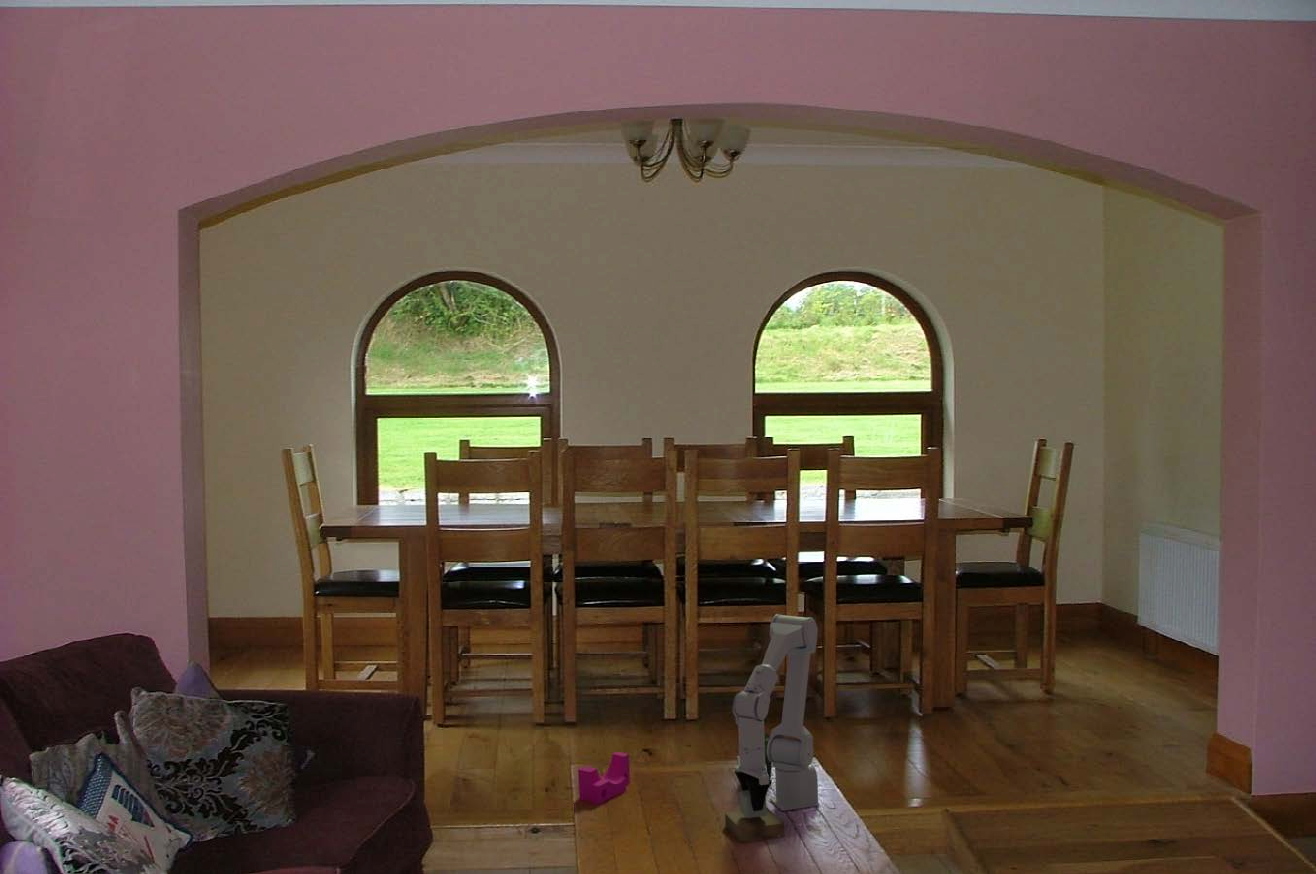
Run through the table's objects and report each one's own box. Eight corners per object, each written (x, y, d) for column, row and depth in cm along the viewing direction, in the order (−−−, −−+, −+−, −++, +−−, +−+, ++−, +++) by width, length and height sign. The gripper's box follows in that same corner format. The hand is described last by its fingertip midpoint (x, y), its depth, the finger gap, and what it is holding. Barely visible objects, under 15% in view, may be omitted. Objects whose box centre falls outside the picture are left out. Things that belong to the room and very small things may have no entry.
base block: (767, 819, 274) (766, 807, 274) (784, 836, 265) (783, 822, 265) (725, 826, 271) (725, 813, 271) (741, 843, 262) (740, 829, 262)
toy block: (599, 804, 288) (598, 774, 287) (579, 799, 292) (578, 769, 291) (637, 785, 300) (636, 755, 299) (618, 780, 303) (617, 751, 303)
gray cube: (759, 808, 271) (758, 788, 270) (766, 815, 266) (765, 795, 266) (740, 811, 269) (739, 791, 269) (747, 818, 265) (746, 798, 265)
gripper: (723, 738, 273) (725, 797, 274) (746, 758, 259) (748, 820, 260) (752, 734, 275) (754, 793, 276) (777, 754, 261) (779, 815, 262)
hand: (753, 806), depth 268 cm, fingers closed on gray cube, 4 cm apart
